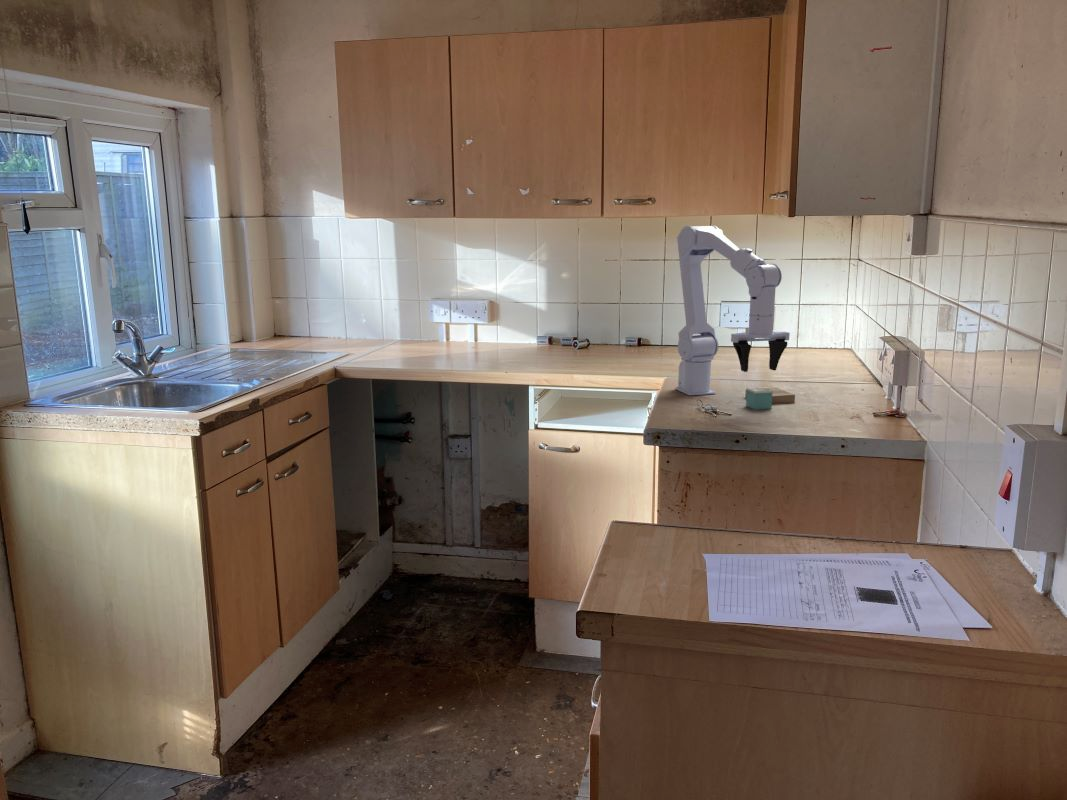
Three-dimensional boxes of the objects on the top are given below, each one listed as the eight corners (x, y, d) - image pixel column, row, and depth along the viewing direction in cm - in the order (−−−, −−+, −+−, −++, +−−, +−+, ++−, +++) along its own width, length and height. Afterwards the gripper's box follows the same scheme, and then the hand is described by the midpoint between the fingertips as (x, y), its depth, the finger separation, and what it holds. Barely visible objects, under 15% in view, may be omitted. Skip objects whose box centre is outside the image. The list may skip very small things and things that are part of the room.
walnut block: (745, 398, 217) (745, 389, 217) (776, 396, 219) (776, 387, 219) (762, 406, 209) (763, 396, 208) (794, 403, 211) (795, 394, 210)
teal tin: (745, 405, 207) (746, 387, 206) (762, 404, 208) (763, 386, 207) (754, 409, 203) (755, 391, 202) (772, 408, 204) (773, 390, 203)
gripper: (741, 317, 194) (738, 374, 197) (797, 315, 197) (793, 371, 200) (728, 314, 201) (725, 369, 204) (782, 312, 204) (779, 366, 207)
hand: (758, 370), depth 202 cm, fingers open, 7 cm apart
